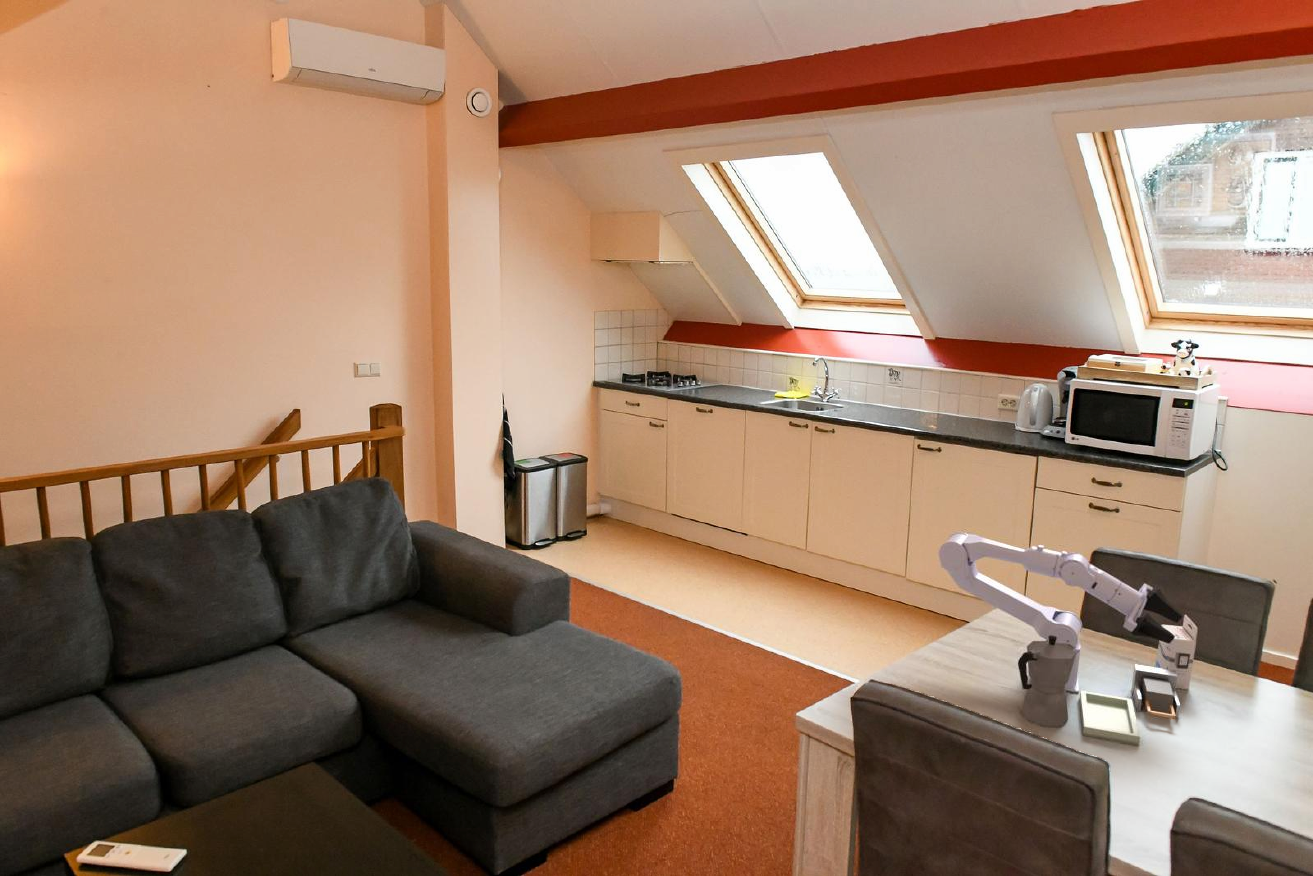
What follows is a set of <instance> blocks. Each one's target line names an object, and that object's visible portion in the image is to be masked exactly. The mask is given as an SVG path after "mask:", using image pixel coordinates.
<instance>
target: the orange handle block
mask: <svg viewBox="0 0 1313 876" xmlns="http://www.w3.org/2000/svg"><path fill="white" fill-rule="evenodd" d="M1173 697H1174V695H1173V692H1172V688H1171V685H1170V682H1169V681H1164V680H1158V679H1152V678H1146V677H1143V683H1142V691H1141V698H1142V701H1141V707H1142V708H1143V710H1142V711H1143V712H1144V713H1147V714H1148V715H1154V716H1161V717H1165V718H1171V719H1176V718H1175V717H1176V716H1175V712H1174V709H1173V706H1172V704H1173Z"/></svg>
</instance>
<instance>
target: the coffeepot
mask: <svg viewBox="0 0 1313 876" xmlns="http://www.w3.org/2000/svg"><path fill="white" fill-rule="evenodd" d="M1048 638H1049V641H1046V640H1032V641H1031V642H1030V643H1029V644H1027V645H1026V650H1027V651H1025V652H1023V654H1021V656H1020V657H1019V659H1018V661H1017V667H1018V672H1019V676H1020V682H1021V686H1022V687H1021V688H1022V689H1023V690H1026V691H1025V694H1024V698H1023V702H1022V704H1021V708H1020V711H1019V712H1020V713H1021V715H1022V714H1023V715H1022V716H1023V718H1025V719H1026V720H1027V719H1028V720H1027V721H1029V722H1030V723H1032V724H1035V723H1036V724H1035V725H1038V726H1041V727H1048V728H1058V727H1063V726H1064V725H1066V723H1067V721H1069V712H1068V696H1067V691H1065V685H1066V684H1067V682H1068V680H1069V677H1070V673H1071V670H1072V666H1073V663H1074V660H1075V656H1076V653H1075V652H1074V651H1073V649H1074V648H1075V647H1073V646H1072V645H1070V644H1063V643H1060V644H1059V643H1056V639H1057V637H1056V636H1053V635H1049V636H1048ZM1027 667H1028V668H1027ZM1027 671H1028V673H1027ZM1029 678H1030V681H1029V682H1030V683H1029V684H1028V680H1029Z"/></svg>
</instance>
